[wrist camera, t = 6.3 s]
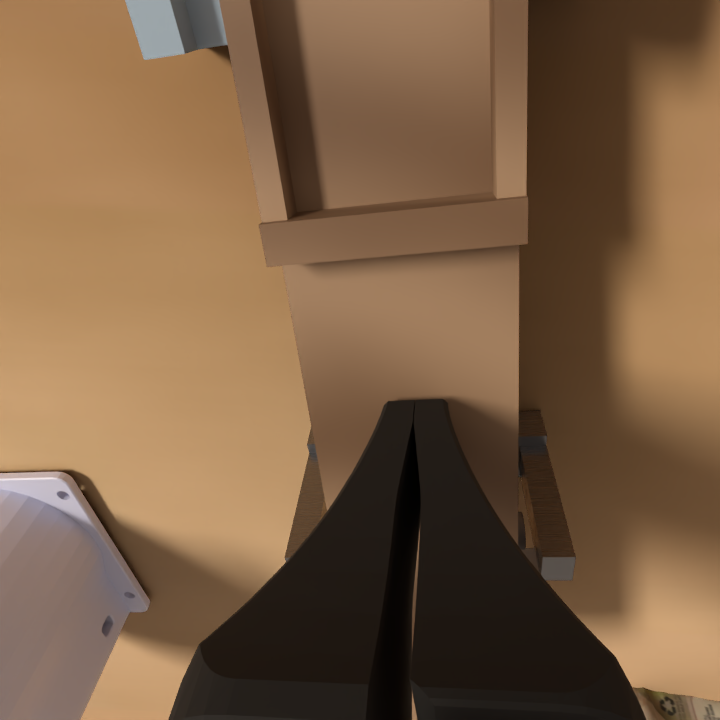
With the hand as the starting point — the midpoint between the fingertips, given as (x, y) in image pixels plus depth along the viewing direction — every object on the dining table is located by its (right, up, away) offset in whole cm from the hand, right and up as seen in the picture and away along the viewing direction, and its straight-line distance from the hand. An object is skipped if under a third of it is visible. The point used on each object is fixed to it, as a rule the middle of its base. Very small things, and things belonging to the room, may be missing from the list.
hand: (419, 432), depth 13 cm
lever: (0, 0, +3) cm, 3 cm away
